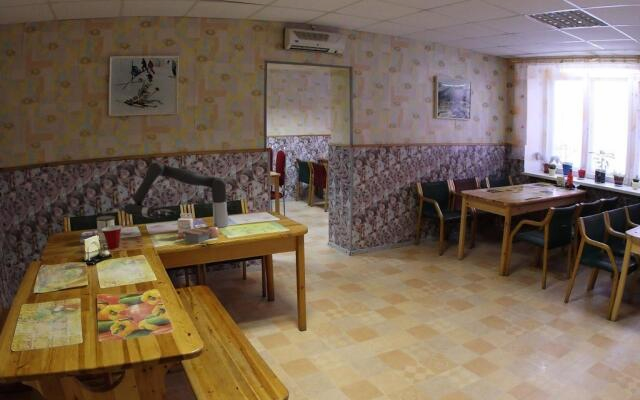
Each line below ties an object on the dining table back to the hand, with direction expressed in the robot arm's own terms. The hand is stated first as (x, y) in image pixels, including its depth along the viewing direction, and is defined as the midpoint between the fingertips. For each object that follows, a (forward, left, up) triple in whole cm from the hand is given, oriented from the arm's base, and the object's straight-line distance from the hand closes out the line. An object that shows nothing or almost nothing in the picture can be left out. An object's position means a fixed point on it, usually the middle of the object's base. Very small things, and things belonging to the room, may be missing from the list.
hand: (170, 214), depth 295 cm
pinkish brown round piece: (-7, +28, -13) cm, 32 cm away
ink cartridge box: (0, +12, -14) cm, 18 cm away
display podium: (+4, +24, -13) cm, 27 cm away
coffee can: (+26, -27, -14) cm, 40 cm away
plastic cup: (+37, -10, -13) cm, 41 cm away
